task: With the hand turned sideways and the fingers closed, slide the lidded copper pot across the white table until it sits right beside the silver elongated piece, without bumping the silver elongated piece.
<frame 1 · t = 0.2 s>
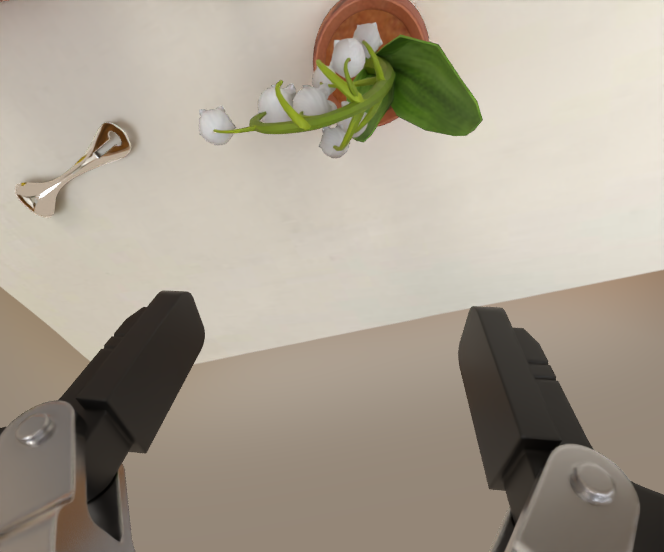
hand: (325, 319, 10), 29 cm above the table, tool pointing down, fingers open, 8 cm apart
potted flower: (360, 62, 31), on the table
silver elongated piece: (81, 168, 40), on the table
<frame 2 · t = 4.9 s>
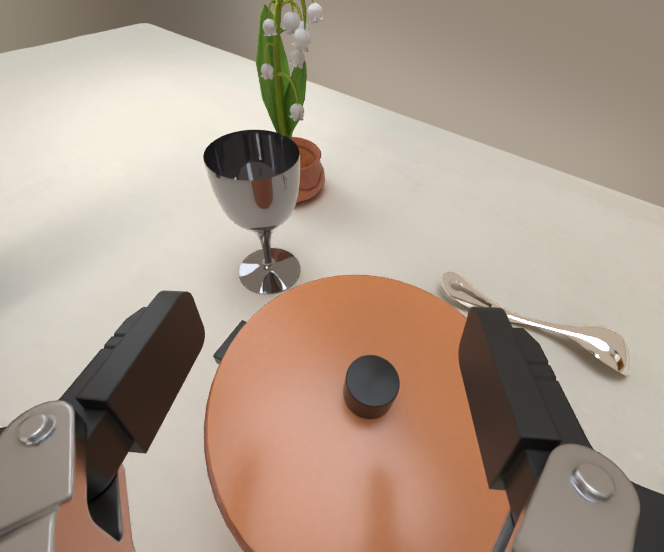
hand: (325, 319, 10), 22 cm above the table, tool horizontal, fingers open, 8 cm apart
potted flower: (294, 192, 50), on the table
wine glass: (270, 271, 40), on the table
silver elongated piece: (523, 325, 37), on the table
copper pot: (347, 452, 28), on the table
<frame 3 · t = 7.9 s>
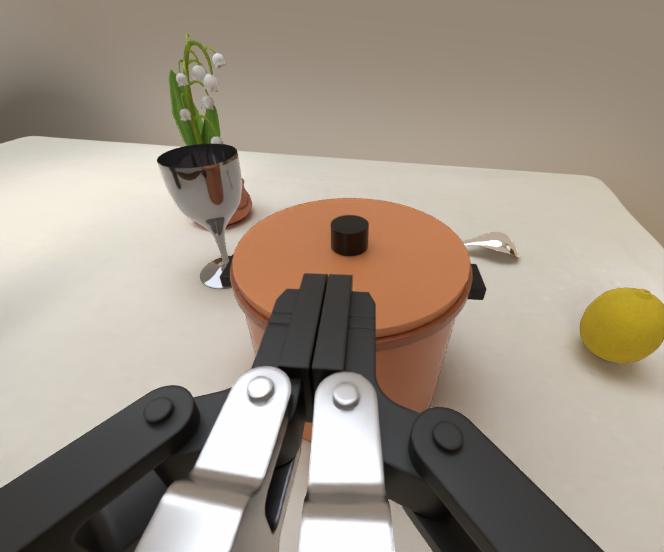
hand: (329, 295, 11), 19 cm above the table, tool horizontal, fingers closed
potted flower: (227, 218, 56), on the table
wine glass: (228, 272, 44), on the table
silver elongated piece: (441, 252, 47), on the table
copper pot: (348, 364, 32), on the table
lemon: (599, 357, 32), on the table
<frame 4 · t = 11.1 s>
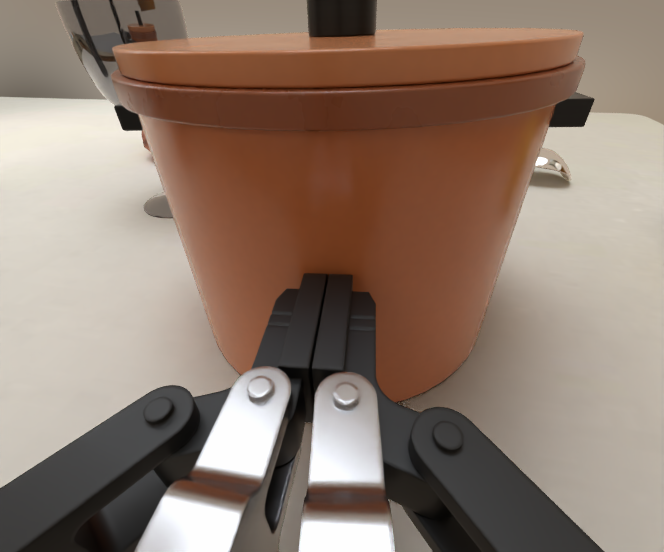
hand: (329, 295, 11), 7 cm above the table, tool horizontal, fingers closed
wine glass: (184, 202, 33), on the table
silver elongated piece: (465, 179, 36), on the table
copper pot: (343, 292, 21), on the table, touching gripper
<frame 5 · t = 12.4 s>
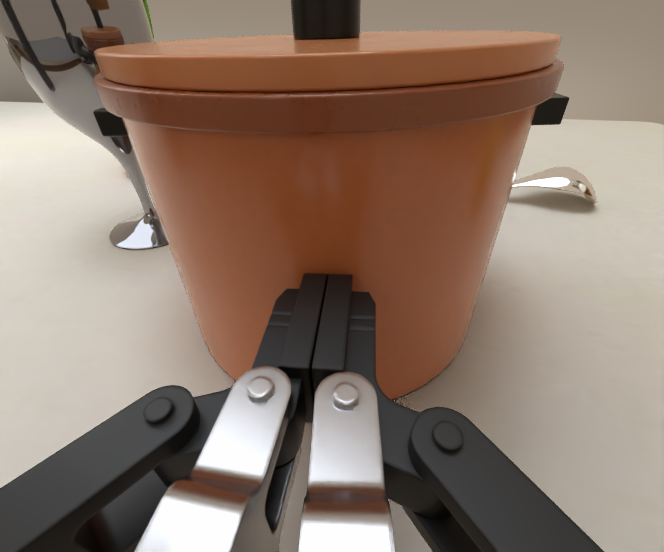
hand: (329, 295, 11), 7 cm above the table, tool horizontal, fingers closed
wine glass: (156, 228, 29), on the table
silver elongated piece: (476, 200, 32), on the table
copper pot: (334, 293, 21), on the table, touching gripper
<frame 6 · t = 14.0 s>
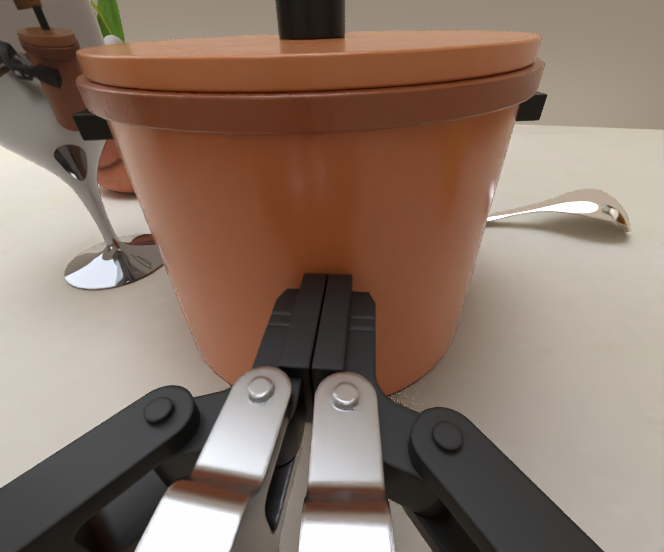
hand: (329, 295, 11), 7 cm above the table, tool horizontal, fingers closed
potted flower: (154, 183, 37), on the table
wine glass: (122, 261, 25), on the table
silver elongated piece: (490, 225, 28), on the table
copper pot: (324, 292, 21), on the table, touching gripper
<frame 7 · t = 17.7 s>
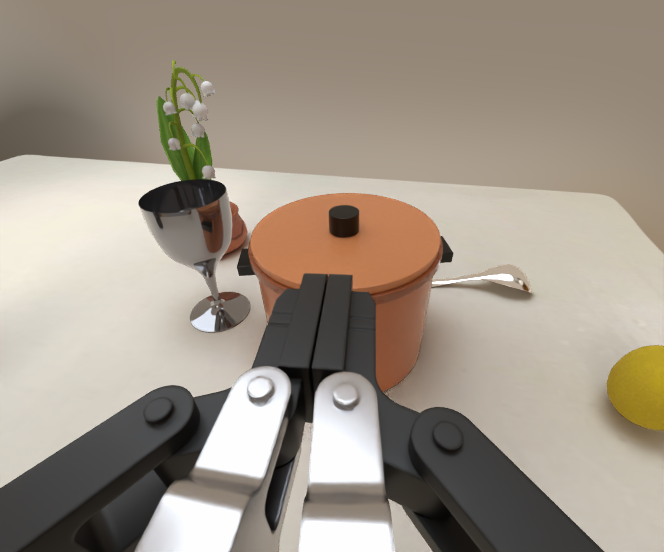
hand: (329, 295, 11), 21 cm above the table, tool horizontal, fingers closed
potted flower: (222, 247, 53), on the table
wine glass: (220, 312, 41), on the table
silver elongated piece: (448, 285, 44), on the table
copper pot: (345, 334, 37), on the table
lemon: (628, 417, 29), on the table
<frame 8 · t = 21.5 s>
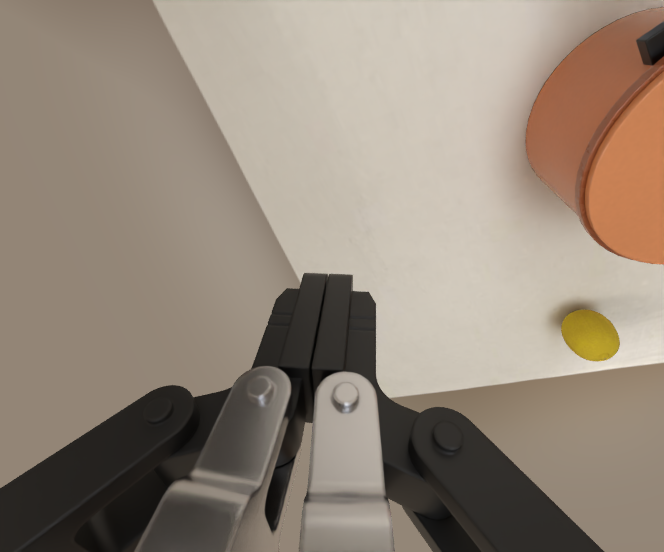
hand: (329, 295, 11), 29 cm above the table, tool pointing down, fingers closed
copper pot: (618, 115, 32), on the table
lemon: (573, 311, 47), on the table
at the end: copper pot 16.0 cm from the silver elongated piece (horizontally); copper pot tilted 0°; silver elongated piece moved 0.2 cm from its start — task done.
